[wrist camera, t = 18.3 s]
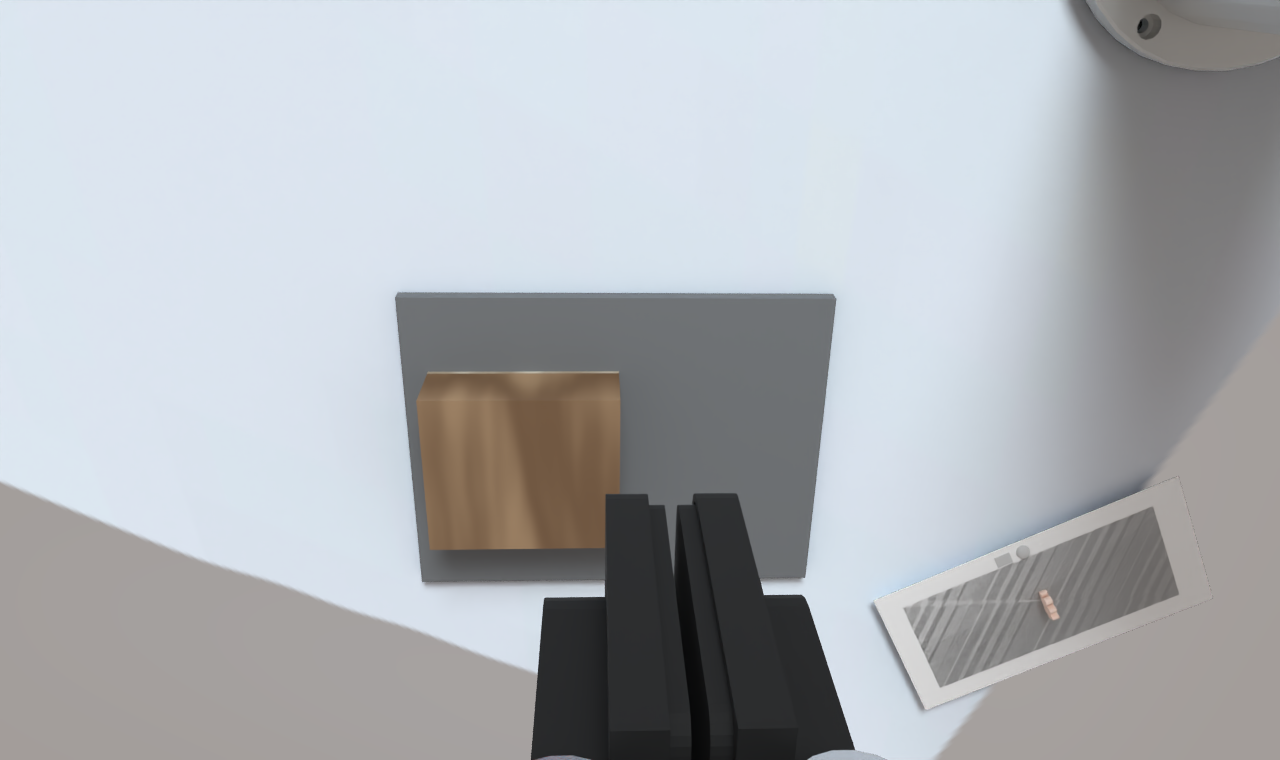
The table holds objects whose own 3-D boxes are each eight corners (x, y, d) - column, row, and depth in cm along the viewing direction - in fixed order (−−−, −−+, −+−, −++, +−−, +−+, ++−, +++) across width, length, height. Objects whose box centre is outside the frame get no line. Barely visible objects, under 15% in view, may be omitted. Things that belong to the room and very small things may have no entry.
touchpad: (1200, 584, 47) (1226, 612, 45) (919, 694, 49) (932, 725, 47) (1165, 464, 44) (1192, 488, 42) (867, 586, 46) (879, 615, 44)
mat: (832, 293, 39) (836, 299, 39) (802, 569, 45) (805, 577, 45) (398, 292, 39) (395, 297, 38) (424, 573, 44) (422, 581, 44)
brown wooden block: (620, 400, 37) (416, 400, 37) (619, 548, 40) (429, 549, 40) (618, 371, 40) (427, 371, 39) (617, 512, 43) (439, 513, 42)
